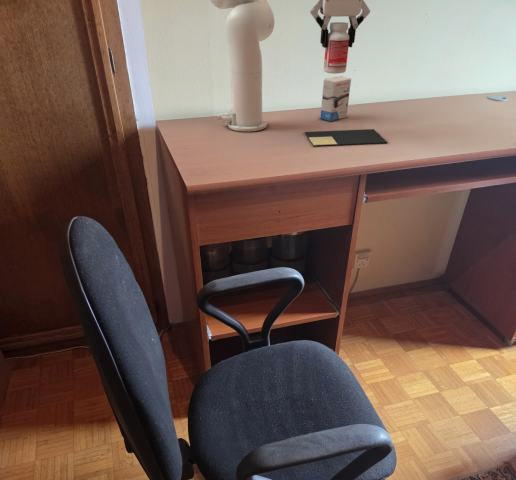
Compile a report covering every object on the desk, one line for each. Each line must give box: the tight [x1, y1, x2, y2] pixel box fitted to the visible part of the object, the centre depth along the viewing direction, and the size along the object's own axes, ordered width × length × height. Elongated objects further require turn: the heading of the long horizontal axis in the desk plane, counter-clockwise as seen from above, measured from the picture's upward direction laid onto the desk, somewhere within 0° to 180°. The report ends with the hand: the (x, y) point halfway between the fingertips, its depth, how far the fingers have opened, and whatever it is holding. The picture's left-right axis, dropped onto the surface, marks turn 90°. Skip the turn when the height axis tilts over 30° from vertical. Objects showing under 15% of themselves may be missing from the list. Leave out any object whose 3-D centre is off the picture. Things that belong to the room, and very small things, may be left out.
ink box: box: [320, 75, 352, 122], centre depth 148 cm, size 8×5×12 cm, turn 131°
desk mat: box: [304, 128, 388, 147], centre depth 135 cm, size 22×13×1 cm, turn 97°
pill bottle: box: [323, 21, 350, 75], centre depth 121 cm, size 6×6×11 cm
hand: (336, 46), depth 120 cm, fingers closed on pill bottle, 6 cm apart
